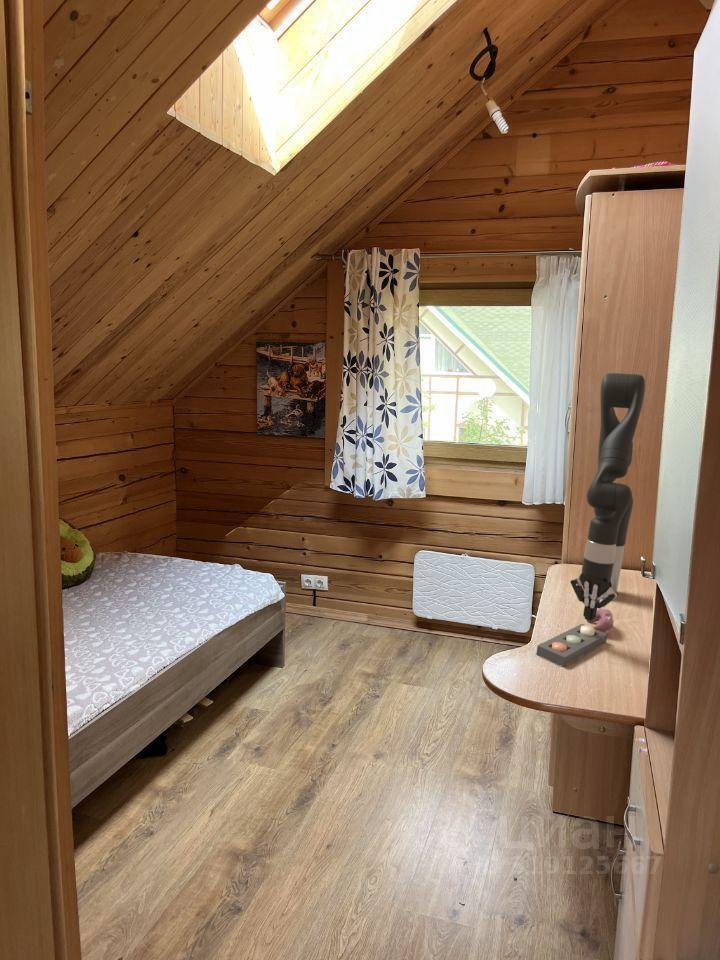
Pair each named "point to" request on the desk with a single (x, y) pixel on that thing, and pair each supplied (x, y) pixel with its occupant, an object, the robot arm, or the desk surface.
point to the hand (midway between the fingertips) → (588, 619)
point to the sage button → (573, 639)
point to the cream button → (587, 631)
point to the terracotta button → (559, 646)
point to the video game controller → (603, 620)
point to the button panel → (571, 646)
